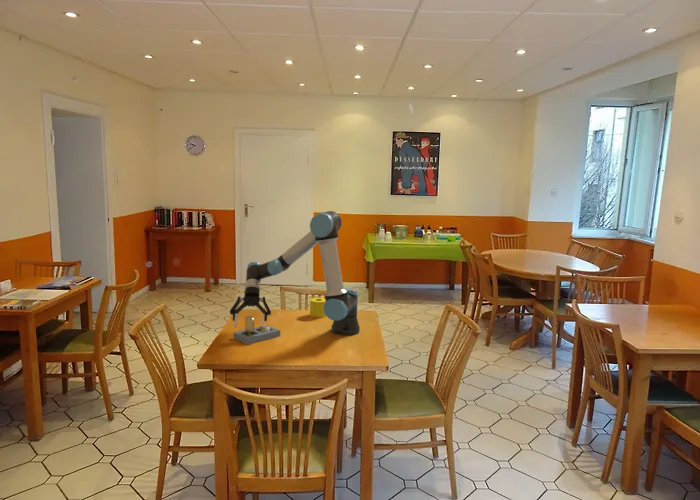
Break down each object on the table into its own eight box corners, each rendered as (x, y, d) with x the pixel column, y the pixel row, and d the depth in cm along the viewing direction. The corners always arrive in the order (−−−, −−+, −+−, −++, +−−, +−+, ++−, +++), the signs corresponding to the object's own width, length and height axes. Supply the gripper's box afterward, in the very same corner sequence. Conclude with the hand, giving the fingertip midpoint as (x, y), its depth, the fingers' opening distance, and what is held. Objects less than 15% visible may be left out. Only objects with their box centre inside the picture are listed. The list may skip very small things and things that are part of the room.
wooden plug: (271, 335, 259) (271, 327, 258) (263, 337, 255) (263, 329, 255) (265, 332, 263) (265, 324, 262) (257, 334, 259) (257, 326, 258)
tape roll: (317, 312, 304) (317, 296, 303) (330, 315, 299) (330, 299, 297) (306, 315, 296) (306, 300, 295) (319, 319, 291) (320, 303, 289)
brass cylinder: (256, 339, 253) (256, 317, 251) (248, 341, 250) (248, 319, 248) (250, 336, 256) (251, 315, 254) (243, 338, 253) (243, 317, 251)
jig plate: (280, 336, 259) (280, 330, 258) (247, 344, 245) (247, 338, 244) (266, 330, 267) (266, 324, 267) (233, 338, 253) (233, 332, 253)
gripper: (277, 293, 266) (275, 330, 254) (228, 293, 264) (224, 329, 251) (276, 286, 260) (274, 323, 248) (227, 285, 258) (222, 322, 245)
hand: (249, 326), depth 249 cm, fingers open, 13 cm apart
